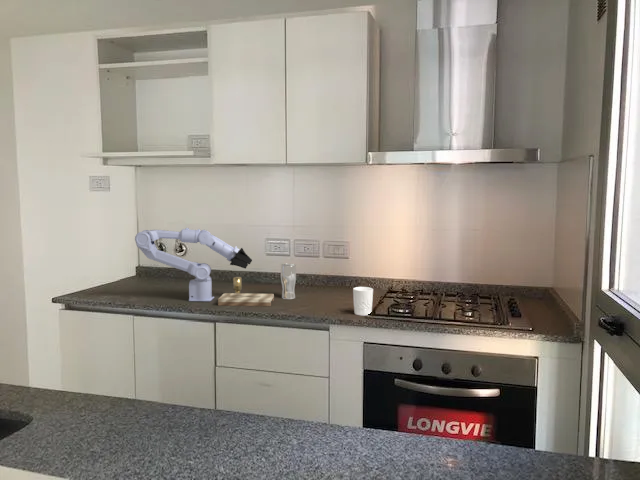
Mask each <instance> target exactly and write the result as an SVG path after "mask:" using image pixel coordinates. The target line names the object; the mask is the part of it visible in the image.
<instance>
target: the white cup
mask: <svg viewBox="0 0 640 480" xmlns="http://www.w3.org/2000/svg"><path fill="white" fill-rule="evenodd" d="M352 295H353V296H352V297H353V298H352V299H353V311H354V312H353V313H354V315H356V316H365V317H366V316H369V315H368V314H370V313H371V312H372V311H373V299H374V296H373V295H374V288H372V287H368V286H356V287H353V289H352ZM372 313H373V312H372Z"/></svg>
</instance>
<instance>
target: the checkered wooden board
mask: <svg viewBox="0 0 640 480" xmlns="http://www.w3.org/2000/svg"><path fill="white" fill-rule="evenodd" d="M274 301H275V295H274V293H245V292H244V293H243V292H242V293H241V292H240V293H235V292H234V293H233V292H232V293H231V292H229V293H227V292H225V293H224V292H223V294H221V295H220V297H219V298H217V305H218V306H220V307H221V306H230V307H236V306H237V307H239V306H240V307H271V306H272V302H274Z"/></svg>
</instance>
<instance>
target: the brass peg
mask: <svg viewBox="0 0 640 480" xmlns="http://www.w3.org/2000/svg"><path fill="white" fill-rule="evenodd" d="M232 279H233V291H234V293H241V291H242V290H243V289H242V287H243V285H242V284H243V283H242V276H235V277H232Z"/></svg>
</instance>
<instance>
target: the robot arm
mask: <svg viewBox="0 0 640 480" xmlns="http://www.w3.org/2000/svg"><path fill="white" fill-rule="evenodd" d="M134 237H135V238H134V241H135V245H136V247H137V248H138V249H139V250H140V251H141V252H142V253H143V254H144V256H145V257H146V258H147V259H149V260H152V261H155V262H156V263H157V262H158V263H160V264H163V265H166V266H169V267H172V268H175V269H177V270H180V271H183V272H187V274H189V275H191V276H194V277H195V278H194V279H190V280H189V283H188V297H189V298H188V302H212V301H213V300H214V299H215V296H213V292H212V290H213V287H212V284H213V283H212V282H213V281H212V277H211V276H210V274H211V273H212V267H211V266H210V265H209V264H208V263H205V262H204V263H199V262H196V261H191V260H189V259H186V258H183V257H180V256H177V255H174V254H171V253H168V252H166V251H163V250H160V249H158V248H157V245H156V242H155V241H157V240H160V239H166V240H167V239H172V240H175V239H176V240H180V242H181V243H189V244H198V243H199V244H200V245H203V246H204V245H205V246H206V247H208V248H209V249H210V250H212V251H214V252H215V253H217V254H219V255H220V256H222V257H223V258H225V259H226V260H227V261H228V262H230V264H229V265H230V266H236V267H240V268H242V269H246V268H247V267H248V266H249V265H251V263H252V262H253V259H252V258H251V257H250V256H248V254H247V253H246V252H245V250H244V248H243V247H241V248H238V246H237V245H235V246H232V245H230V244H229V243H227V242H226V241H224V240H222V239H221V238H219V237H217V236H215V235H214V234H212V233H211V232H210V231H209V230H207V229H202V230H201V229H200V228H197V229H190V228H189V227H185V228H182V229H181V230H180V231H175V230H165V229H150V230H148V229H144V230H142V231H139V232H137V233H136V234H135V236H134Z"/></svg>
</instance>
